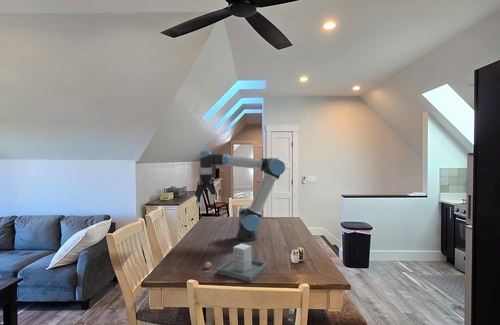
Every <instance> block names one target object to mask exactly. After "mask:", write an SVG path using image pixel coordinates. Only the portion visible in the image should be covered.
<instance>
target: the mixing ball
mask: <svg viewBox="0 0 500 325" xmlns="http://www.w3.org/2000/svg"><path fill="white" fill-rule="evenodd" d="M204 267H205V269H207V270H208V269H211V267H212V263H211V262H210V261H206V262H205V263H204Z"/></svg>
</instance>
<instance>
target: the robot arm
mask: <svg viewBox="0 0 500 325" xmlns="http://www.w3.org/2000/svg"><path fill="white" fill-rule="evenodd" d="M199 161H200V162H199V163H200V165H199V168H200V175H199V178H200V179H199V180H201V181H198V182H197V187H196V190H195V194H194V196H195V197H196V199H197V200H196V202H197V207H198V208H202V201H203V200H202V195H203V192H204V191H205V189H207V190H208V192H210V194H209V204H212V205H213V204H215V195H216V194H217V190H216V187H215V184H214V180H212V172H213V171H212V166H228V167H229V166H230V167H237V168H244V169H254V170H258V171H259V172H263V178H262V181H261V182H260V184H259V187H258V189H257V191H256V193H255V196H254V198H253V200H252V202H251V204H250V206H248V207H241V208H239V209H238V230H237V233H236V240H238V241H239V242H253V241H256V240H257V233H256V230H258V229H259V227H260V226H261V219H262V216H263V212H262V211H263V209H264V207H265V205H266V203H267V200H268V198H269V195H270V194H271V191H272V189H273V187H274V185H275V183H276V181H277V180H279V179H280V177H281V175H283V174H284V172H285V171H286V164H285V162H284V160H283V159H281V158H279V157H274V158H273V157H269V158H268V157H267V158H266V157H264V158H262V157H260V158H253V157H244V156H243V157H242V156H238V155H237V156H236V155H229V154H227V153H226V154H225V153H215V154H214V153H212V151H211V150H202V151H200V155H199Z"/></svg>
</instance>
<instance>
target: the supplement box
mask: <svg viewBox="0 0 500 325" xmlns="http://www.w3.org/2000/svg"><path fill="white" fill-rule="evenodd" d="M232 251H233V252H232V253H233V254H232V255H233V256H232V259H233V270H236V271H239V272H242V273H245V272H246V271H248V270H250V269H251V268H252V260H253V259H252V245H249V244H245V243H240V244H237V245H234V246H233V248H232Z"/></svg>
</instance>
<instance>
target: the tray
mask: <svg viewBox="0 0 500 325" xmlns="http://www.w3.org/2000/svg"><path fill="white" fill-rule="evenodd" d="M267 268H268V262H266V261H261V260H255V259H252V268H251V269H250V270H248V271H246V272H245V273H242V272H239V271H236V270H233V258H231V259H230V260H229V261H226V262H225V263H224V264H222V265H221V266H219V267H217V268H216V274H217V275H222V276H225V277H228V276H229V278H232V279H237V280H240V281H241V280H242V281H245V282H247V283H251V282H252V281H253V280H254V279H256V277H258V276H259V275H260V274H261V273H262V272H263V271H264V270H265V269H267Z"/></svg>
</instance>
